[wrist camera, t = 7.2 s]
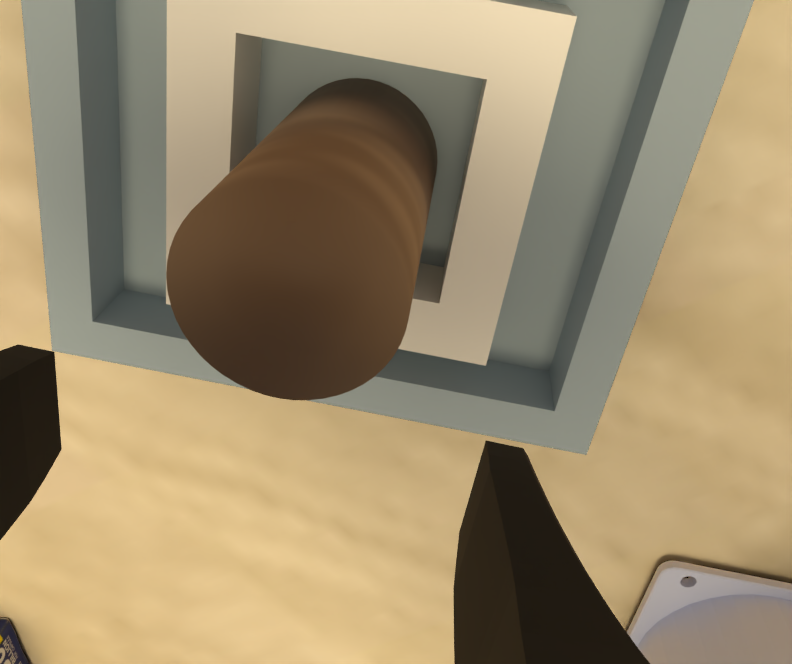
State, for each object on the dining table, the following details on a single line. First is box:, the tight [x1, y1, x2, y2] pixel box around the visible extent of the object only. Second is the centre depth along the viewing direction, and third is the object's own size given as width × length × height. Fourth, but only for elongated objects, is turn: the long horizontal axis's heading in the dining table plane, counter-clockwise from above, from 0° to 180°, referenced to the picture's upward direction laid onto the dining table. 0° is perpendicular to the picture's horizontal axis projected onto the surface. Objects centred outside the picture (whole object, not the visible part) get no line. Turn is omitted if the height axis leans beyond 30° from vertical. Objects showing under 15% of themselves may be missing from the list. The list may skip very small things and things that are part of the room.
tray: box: [21, 0, 754, 455], centre depth 18 cm, size 15×13×3 cm
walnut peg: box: [166, 78, 437, 400], centre depth 15 cm, size 4×4×8 cm
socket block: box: [166, 0, 577, 366], centre depth 18 cm, size 8×8×2 cm
